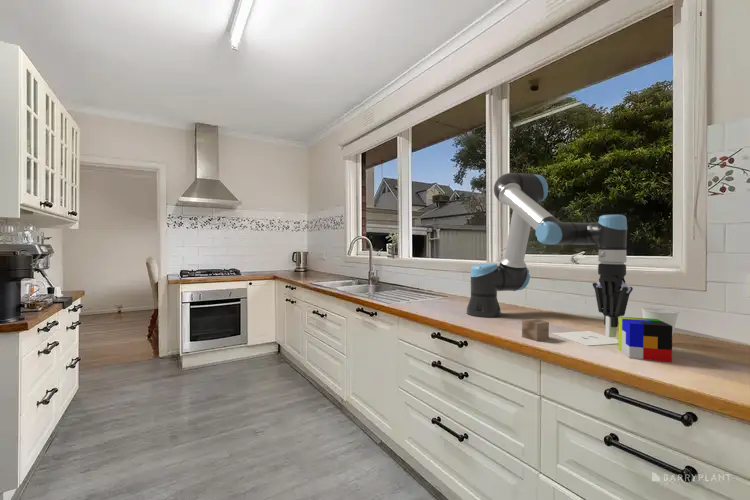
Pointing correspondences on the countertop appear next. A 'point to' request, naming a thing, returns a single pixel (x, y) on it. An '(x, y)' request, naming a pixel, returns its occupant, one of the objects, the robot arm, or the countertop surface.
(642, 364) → the countertop surface
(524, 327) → the walnut block
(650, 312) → the cup
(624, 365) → the countertop surface
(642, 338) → the puzzle toy
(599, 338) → the mat
